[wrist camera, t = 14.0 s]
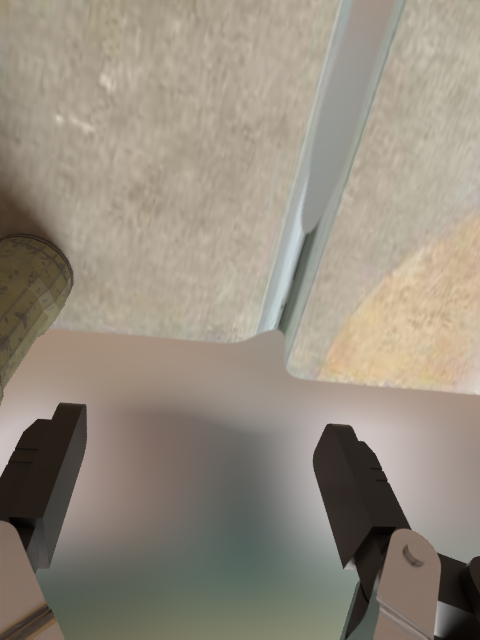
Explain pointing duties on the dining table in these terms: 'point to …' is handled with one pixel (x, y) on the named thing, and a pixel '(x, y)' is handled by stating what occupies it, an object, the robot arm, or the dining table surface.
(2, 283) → the thermos
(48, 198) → the dining table surface
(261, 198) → the dining table surface
